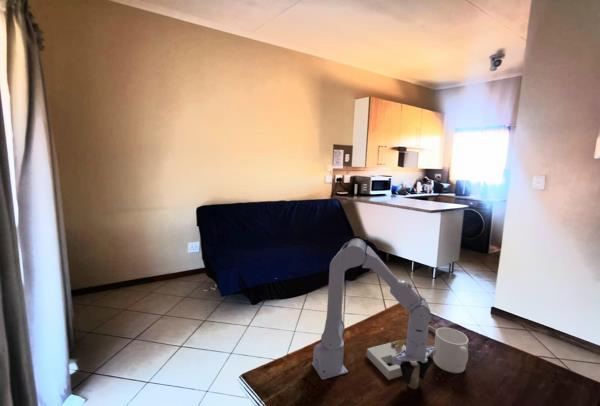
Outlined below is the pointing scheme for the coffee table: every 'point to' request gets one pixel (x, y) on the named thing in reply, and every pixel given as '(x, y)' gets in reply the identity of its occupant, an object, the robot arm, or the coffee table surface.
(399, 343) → the latch
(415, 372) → the peg
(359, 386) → the coffee table surface
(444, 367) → the mug
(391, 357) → the white flat block
